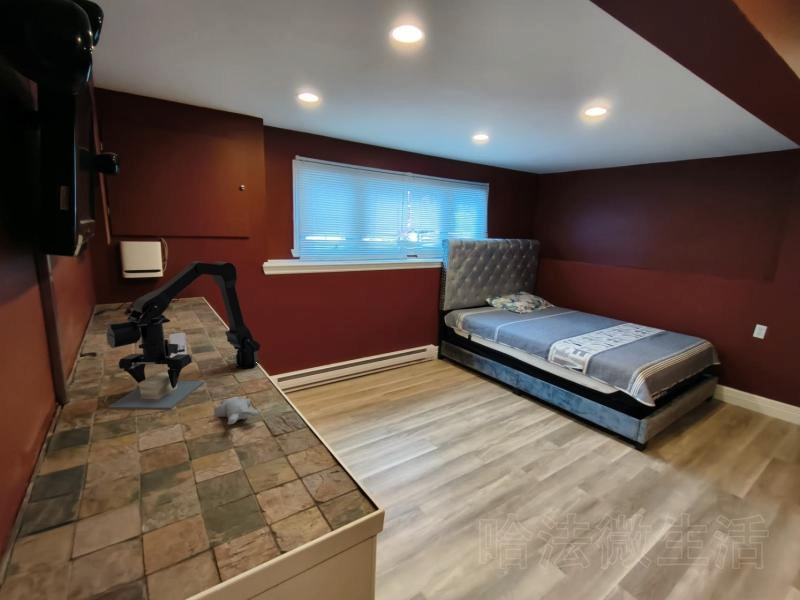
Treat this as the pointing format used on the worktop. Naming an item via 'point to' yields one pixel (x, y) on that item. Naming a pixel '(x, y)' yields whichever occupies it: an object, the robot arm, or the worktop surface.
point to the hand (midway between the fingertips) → (159, 387)
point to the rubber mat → (165, 402)
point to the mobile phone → (179, 340)
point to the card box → (156, 386)
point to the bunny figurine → (235, 409)
